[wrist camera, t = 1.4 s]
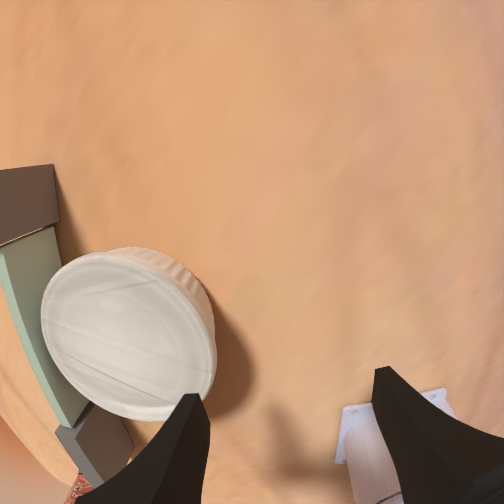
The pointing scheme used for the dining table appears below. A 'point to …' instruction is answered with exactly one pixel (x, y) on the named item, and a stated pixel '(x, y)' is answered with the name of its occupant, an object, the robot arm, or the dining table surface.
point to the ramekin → (131, 331)
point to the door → (37, 314)
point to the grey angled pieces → (93, 416)
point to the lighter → (78, 489)
